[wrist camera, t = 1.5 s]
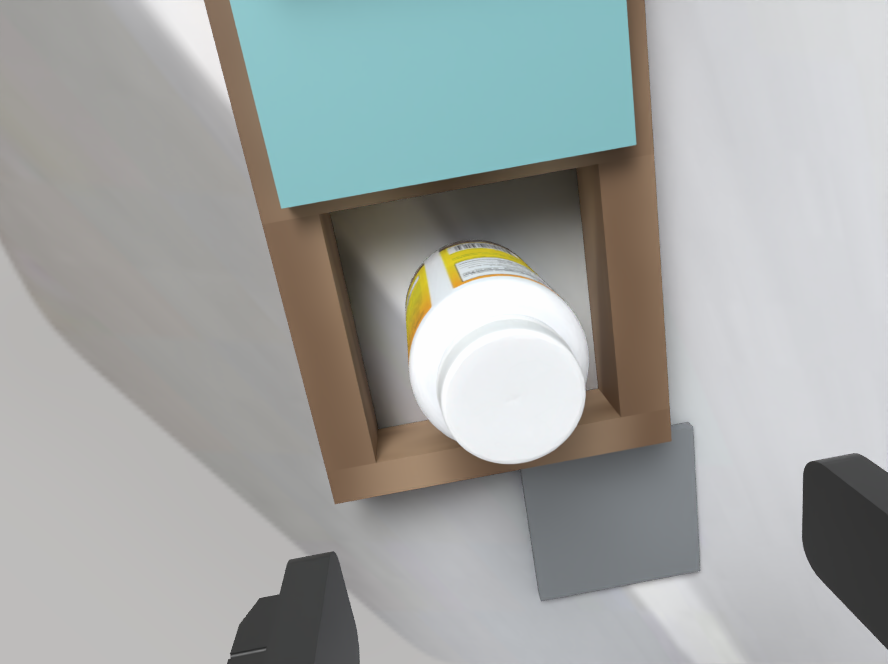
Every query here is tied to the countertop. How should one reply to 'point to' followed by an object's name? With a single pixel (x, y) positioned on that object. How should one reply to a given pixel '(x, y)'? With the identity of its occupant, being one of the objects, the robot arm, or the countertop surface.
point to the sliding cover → (431, 88)
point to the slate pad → (614, 517)
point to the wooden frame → (310, 227)
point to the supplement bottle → (494, 353)
